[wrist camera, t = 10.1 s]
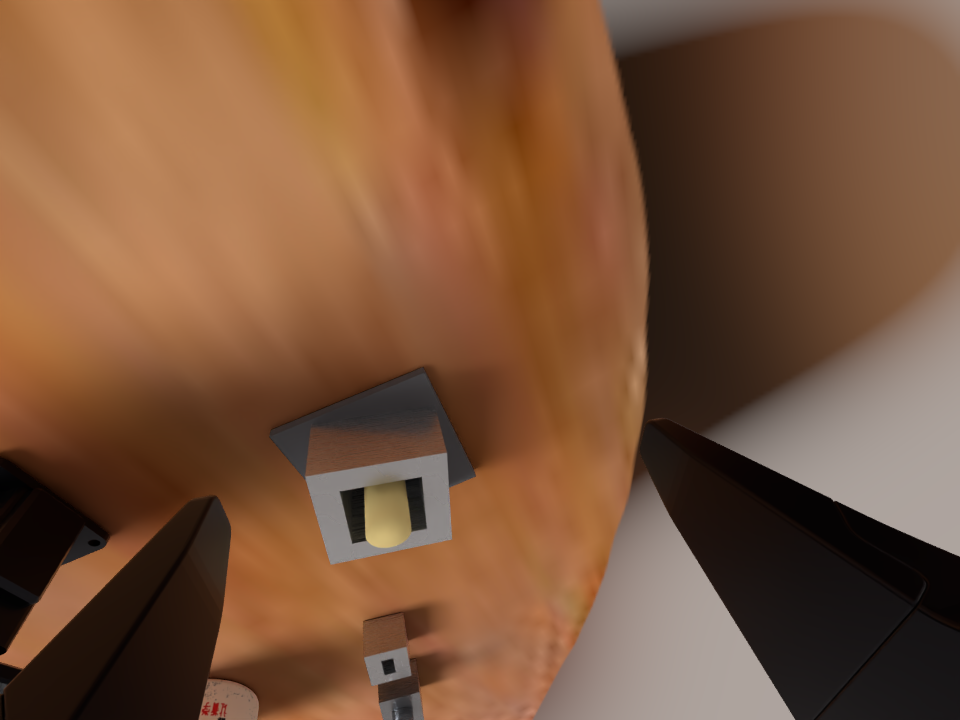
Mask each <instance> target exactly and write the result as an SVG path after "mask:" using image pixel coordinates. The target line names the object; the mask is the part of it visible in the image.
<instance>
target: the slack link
mask: <svg viewBox="0 0 960 720" xmlns="http://www.w3.org/2000/svg"><path fill="white" fill-rule="evenodd" d="M363 638H364V660H365V663H366V667H367V671H368V674H369V678H370V681H371V685H372V686H374V685H378V684H382V683H385V682H389V681H393V680H397V679H400V678H404V677H408V676H411V666H410V656H409V646H408V638H407V632H406V626H405V620H404V614H403V612H402V613H398V614H393V615H389V616H385V617H381V618H376V619H372V620H368V621H364V622H363Z"/></svg>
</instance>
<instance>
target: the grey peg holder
mask: <svg viewBox="0 0 960 720" xmlns="http://www.w3.org/2000/svg"><path fill="white" fill-rule="evenodd" d="M429 406H435V408H436V412H437V416H438V420H439V424H440V428H441V432H442V435H443V439H444V443H445V447H446V451H447V463H448V480H449V487H452V486H454V485H457V484H459V483H461V482H464V481H466V480H468V479H471V478H473V477H475V476H476V475H475V472H474V469H473V467H472V465H471V463H470V461H469V459H468V457H467V455H466V453H465V451H464V449H463V447H462V445H461V443H460V441H459V439H458V437H457V435H456V433H455V431H454V428H453V426H452V424H451V422H450V420H449V418H448V416H447V414H446V412H445V410H444V408H443V406H442V404H441V402H440V400H439V398H438V396H437V394H436V392H435V390H434V388H433V386H432V384H431V382H430V380H429V378H428V376H427V374H426V372H425V370H424V368H423V367H422V368H420V369H417V370H415V371H413V372H410V373H408V374H405V375H403V376H401V377H398V378H396V379H393V380H391V381H388V382H386V383H384V384H381V385H379V386H376V387H374V388H372V389H369V390H367V391H364V392H362V393H359V394H357V395H355V396H352V397H350V398H347V399H345V400H343V401H340V402H338V403H335V404H333V405H331V406H328V407H326V408H323V409H321V410H318V411H316V412H314V413H311V414H309V415H306V416H304V417H302V418H299V419H297V420H294V421H292V422H289V423H287V424H285V425H282V426H280V427H277V428H275V429H273V430H271V432H270V436H269V437H270V438H271V440H272V441H273V442H274V443H275V444H276V446H277V447H278V448H279V449H280V450H281V451H282V453H283V454H284V455H285V456H286V457H287V459H288V460H289V461H290V462H291V463H292V465H293V466H294V467H295V468H296V469H297V471H298V472H299V473H300V474H301V475H302V476H303V478H304V479H305V480H306V478H305V473H306V464H307V456H308V447H309V439H310V430H311V424H315V423H321V422H328V421H335V420H342V419H348V418H355V417H362V416H369V415H375V414H382V413H389V412H396V411H402V410H409V409H416V408H423V407H429ZM364 502H365V535H366V540H367V541H368V542H369V543H370V544H371V545H373V546H375V547H379V548H389V547H394V546H397V545H399V544H401V543H403V542H404V541H406V540H407V539H408V537H409V536H410V534H411V530H412V529H411V521H410V514H409V506H408V499H407V491H406V484H405V480H401V481H395V482H390V483H384V484H379V485H373V486H367V487H364Z"/></svg>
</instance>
